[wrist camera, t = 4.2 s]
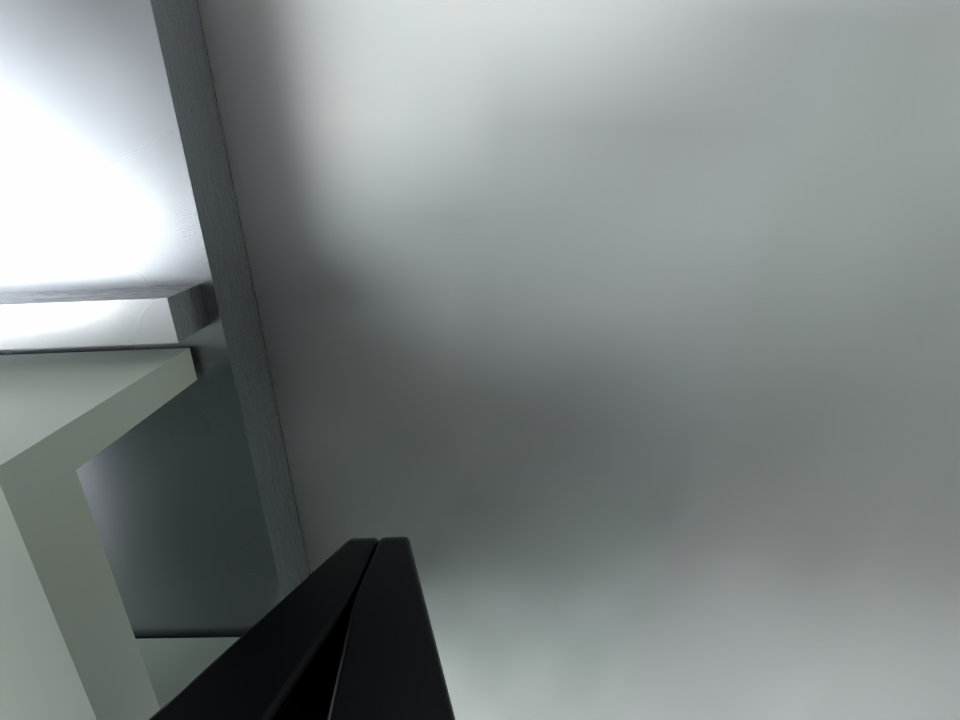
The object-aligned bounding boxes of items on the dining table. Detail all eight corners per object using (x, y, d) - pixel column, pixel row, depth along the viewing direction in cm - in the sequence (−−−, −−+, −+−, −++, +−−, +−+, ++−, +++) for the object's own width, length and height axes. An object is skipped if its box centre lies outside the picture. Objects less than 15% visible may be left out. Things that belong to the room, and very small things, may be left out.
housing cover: (189, 347, 8) (-7, 469, 5) (266, 657, 10) (162, 881, 7) (-106, 359, 8) (-477, 482, 5) (29, 660, 10) (-174, 879, 7)
